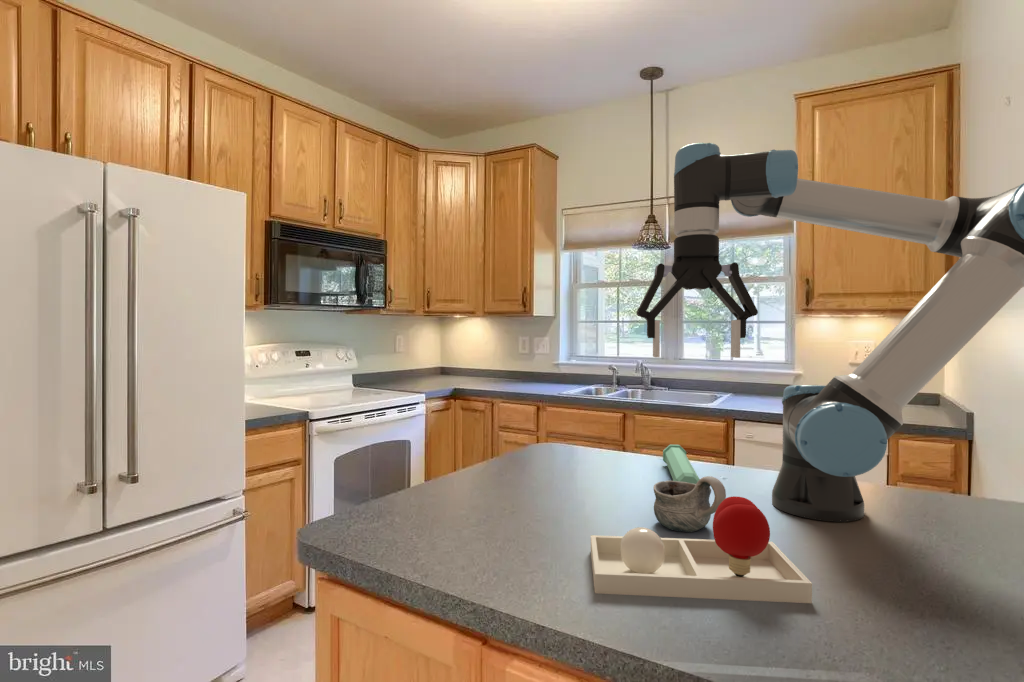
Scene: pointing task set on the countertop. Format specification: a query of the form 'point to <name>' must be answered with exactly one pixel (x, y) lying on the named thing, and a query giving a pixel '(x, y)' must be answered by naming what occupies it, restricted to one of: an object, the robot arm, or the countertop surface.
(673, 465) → the green octagonal rod
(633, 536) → the egg
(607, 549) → the tray
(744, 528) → the red rounded piece
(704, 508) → the mug
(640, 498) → the countertop surface
